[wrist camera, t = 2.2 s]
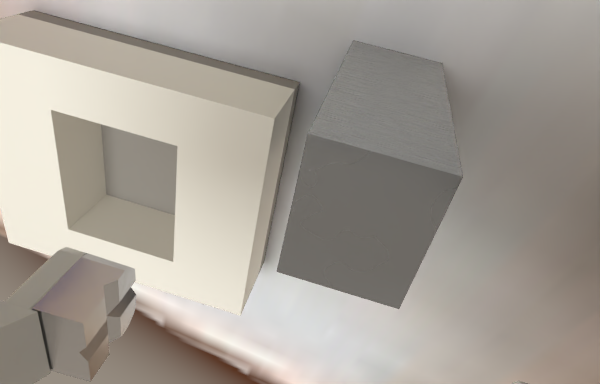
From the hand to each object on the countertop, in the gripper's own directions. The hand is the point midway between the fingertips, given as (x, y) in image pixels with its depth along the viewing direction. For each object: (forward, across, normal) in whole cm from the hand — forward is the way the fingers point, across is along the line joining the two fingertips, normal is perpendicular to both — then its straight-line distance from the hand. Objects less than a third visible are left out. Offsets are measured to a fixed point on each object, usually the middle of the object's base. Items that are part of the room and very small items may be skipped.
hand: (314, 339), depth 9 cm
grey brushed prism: (+14, -1, 0) cm, 14 cm away
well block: (+14, +10, +6) cm, 18 cm away
